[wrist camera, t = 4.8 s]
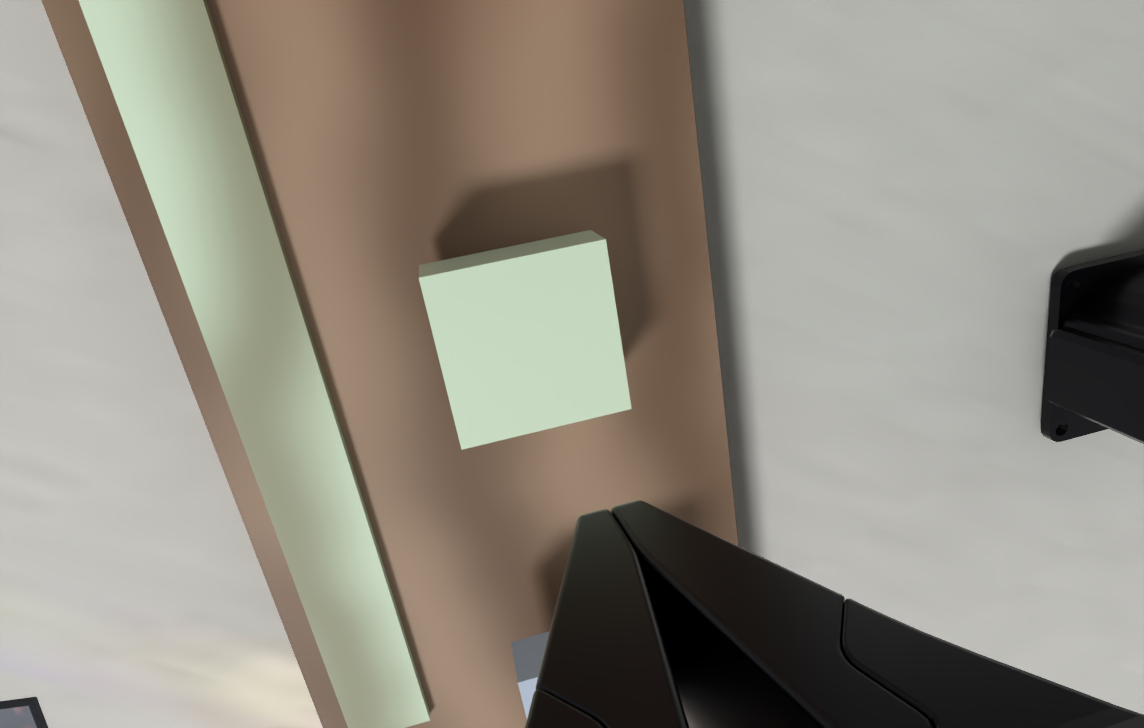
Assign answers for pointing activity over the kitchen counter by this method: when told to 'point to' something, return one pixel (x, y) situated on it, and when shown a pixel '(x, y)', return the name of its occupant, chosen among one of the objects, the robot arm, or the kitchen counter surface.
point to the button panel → (409, 301)
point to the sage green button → (527, 336)
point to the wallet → (21, 714)
